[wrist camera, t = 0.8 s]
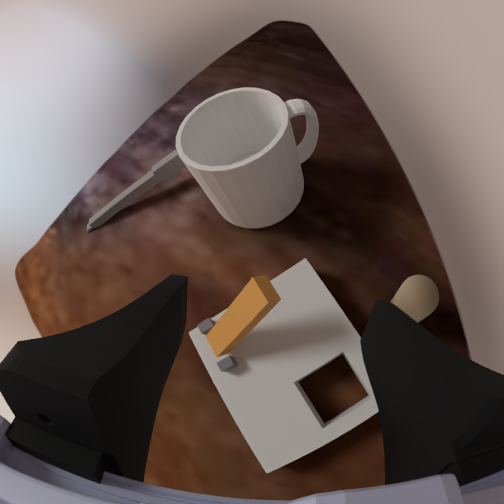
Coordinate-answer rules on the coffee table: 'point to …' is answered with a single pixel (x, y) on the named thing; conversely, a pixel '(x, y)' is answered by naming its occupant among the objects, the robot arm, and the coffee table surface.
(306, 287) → the white flat block
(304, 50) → the coffee table surface
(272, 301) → the latch
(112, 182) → the coffee table surface
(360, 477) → the coffee table surface
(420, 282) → the peg
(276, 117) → the mug
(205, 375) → the coffee table surface
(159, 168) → the caliper
